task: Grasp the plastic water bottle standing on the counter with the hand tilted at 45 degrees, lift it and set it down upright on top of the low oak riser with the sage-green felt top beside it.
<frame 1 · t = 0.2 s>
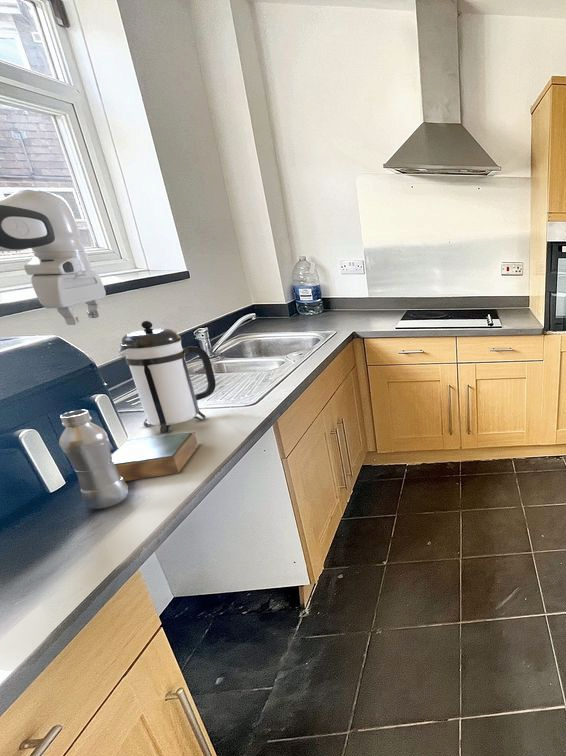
hand: (84, 320, 105), 31 cm above the table, tool pointing down, fingers open, 8 cm apart
coffee press: (180, 421, 122), on the table
plastic bottle: (109, 504, 84), on the table
riser: (154, 463, 99), on the table
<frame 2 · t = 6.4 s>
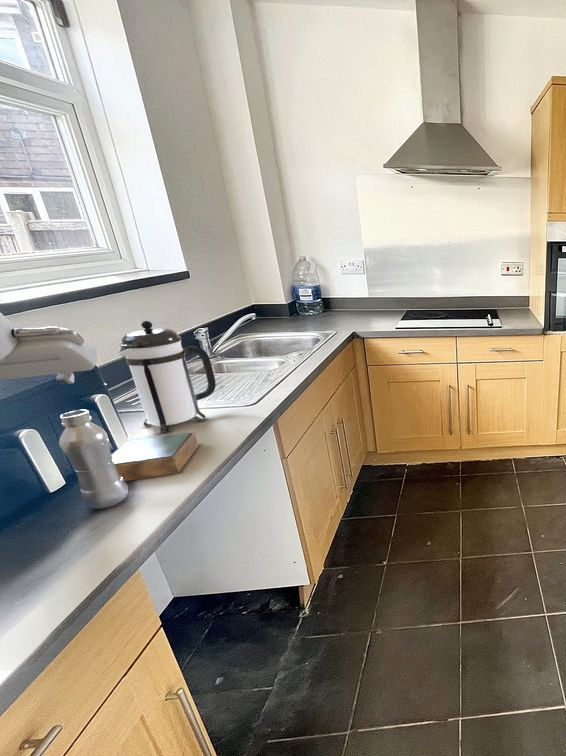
hand: (27, 384, 65), 29 cm above the table, tool tilted 45°, fingers open, 8 cm apart
nothing on the table moved.
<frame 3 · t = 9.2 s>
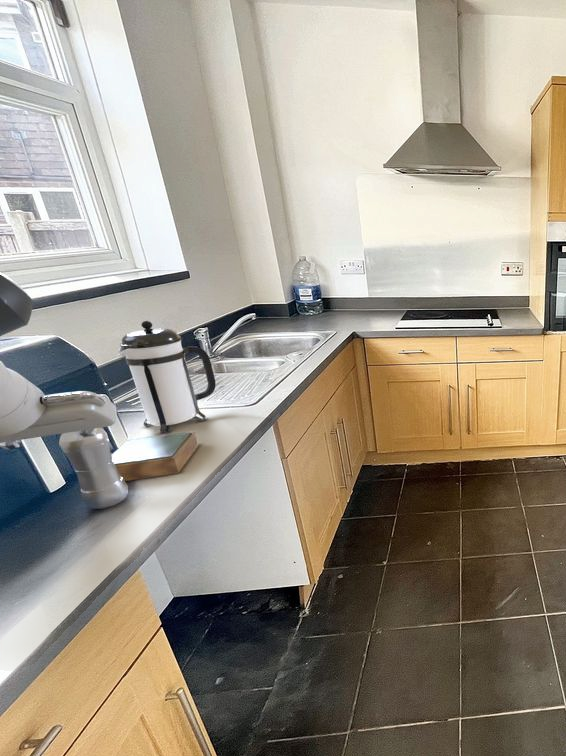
hand: (53, 438, 70), 19 cm above the table, tool tilted 45°, fingers open, 8 cm apart
nothing on the table moved.
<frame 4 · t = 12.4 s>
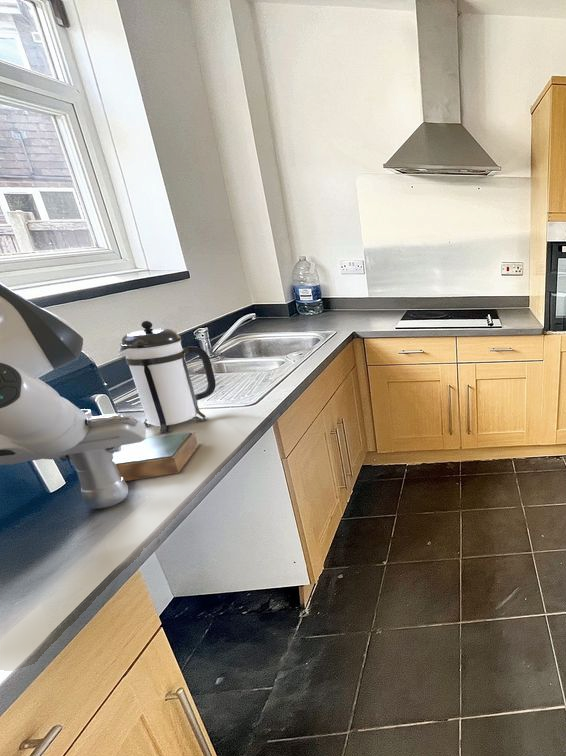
hand: (91, 452, 81), 11 cm above the table, tool tilted 45°, fingers closed on plastic bottle, 6 cm apart
plastic bottle: (109, 504, 84), on the table, touching gripper
everything else where it was.
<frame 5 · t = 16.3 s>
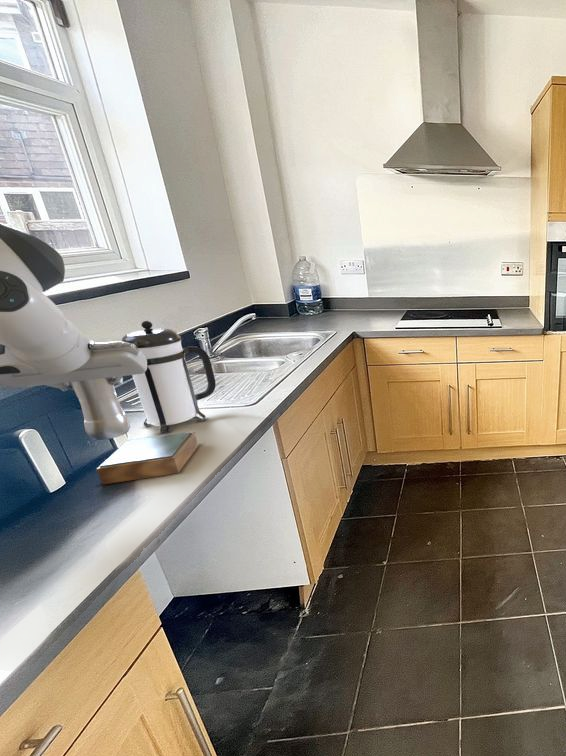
hand: (94, 384, 83), 23 cm above the table, tool tilted 45°, fingers closed on plastic bottle, 6 cm apart
plastic bottle: (112, 437, 86), point 12 cm above the table, touching gripper
everything else where it was.
when the fingers open (16 cm above the table, at t = 20.6 s): plastic bottle stays where it is, resting on riser.
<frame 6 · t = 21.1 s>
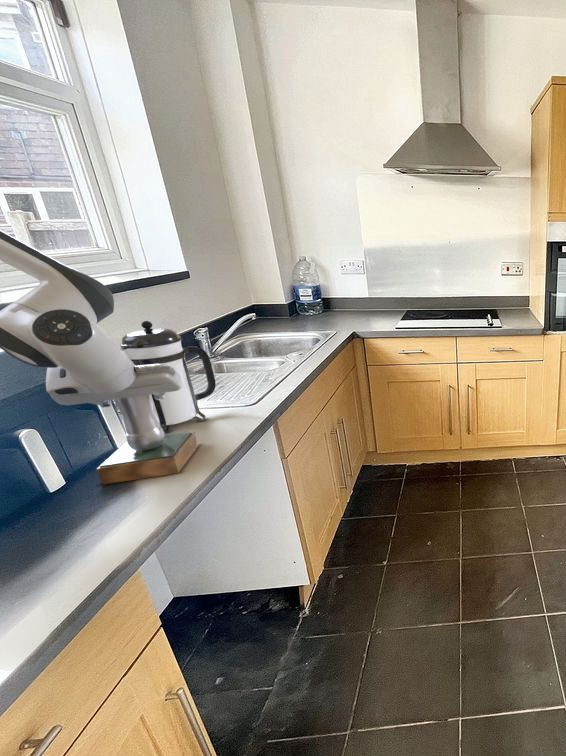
hand: (134, 400, 94), 16 cm above the table, tool tilted 45°, fingers open, 8 cm apart
plastic bottle: (149, 448, 98), point 4 cm above the table, touching riser
everything else where it was.
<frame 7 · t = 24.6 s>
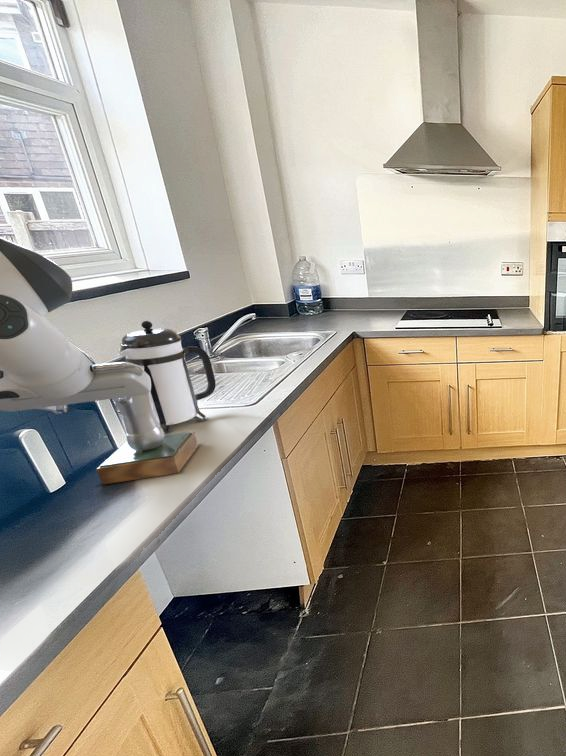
hand: (95, 405, 80), 21 cm above the table, tool tilted 45°, fingers open, 8 cm apart
nothing on the table moved.
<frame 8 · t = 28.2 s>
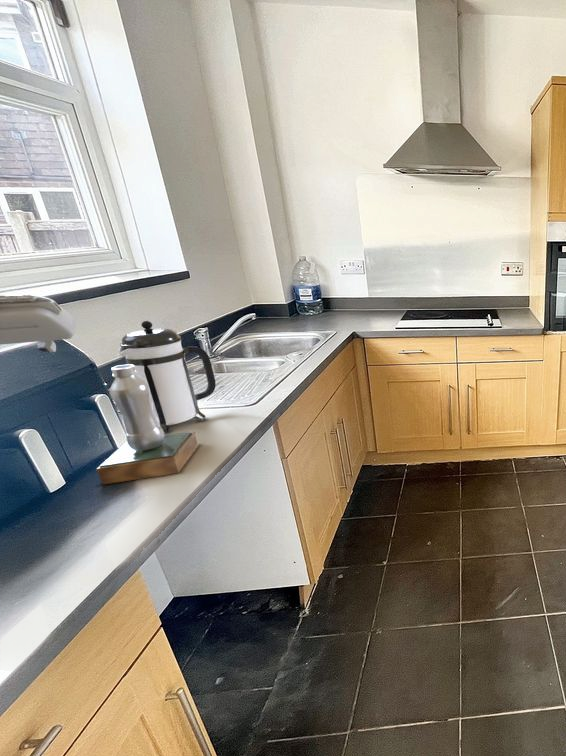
hand: (10, 352, 68), 33 cm above the table, tool tilted 45°, fingers open, 8 cm apart
nothing on the table moved.
at the end: plastic bottle inside the target area on the riser (0.1 cm from its centre), point 4.1 cm above the riser's base; plastic bottle tilted 0°; the gripper is holding nothing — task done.
